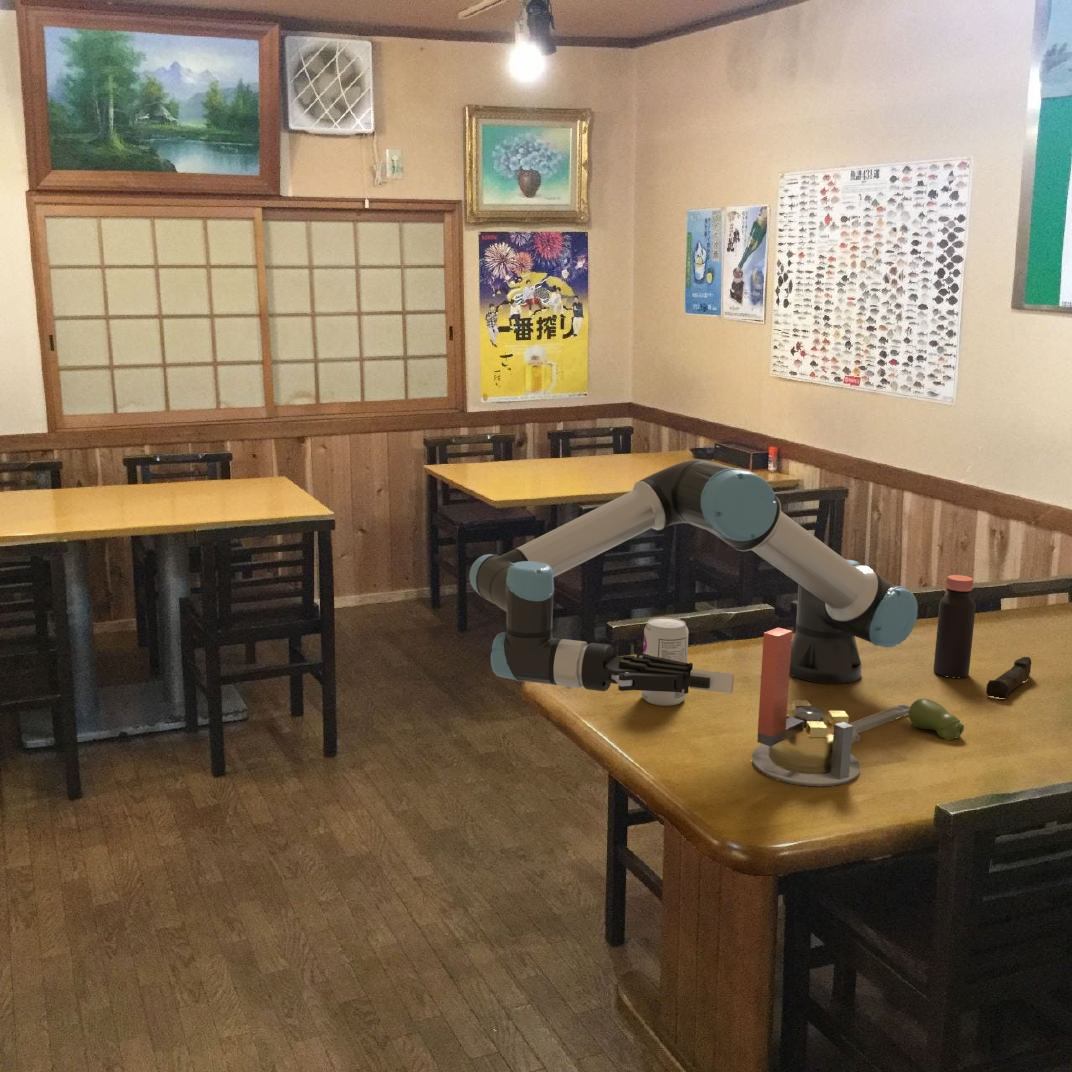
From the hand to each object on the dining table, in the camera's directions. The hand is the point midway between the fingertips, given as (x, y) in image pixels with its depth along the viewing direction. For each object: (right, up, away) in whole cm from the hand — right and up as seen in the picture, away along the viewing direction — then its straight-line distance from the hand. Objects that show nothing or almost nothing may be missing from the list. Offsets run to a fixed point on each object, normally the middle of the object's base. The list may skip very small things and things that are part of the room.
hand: (732, 683), depth 181 cm
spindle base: (+14, -15, +10) cm, 22 cm away
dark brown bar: (+63, -7, +50) cm, 80 cm away
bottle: (+54, -5, +56) cm, 78 cm away
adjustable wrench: (+29, -12, +27) cm, 41 cm away
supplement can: (-6, -8, +39) cm, 40 cm away
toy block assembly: (+11, -14, +7) cm, 19 cm away
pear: (+40, -12, +25) cm, 49 cm away
